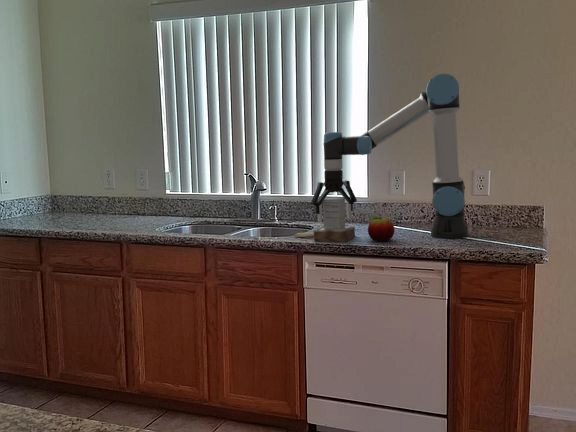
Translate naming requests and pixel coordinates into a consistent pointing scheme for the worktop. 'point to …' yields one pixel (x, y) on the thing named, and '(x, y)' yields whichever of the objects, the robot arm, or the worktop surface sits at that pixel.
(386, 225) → the fruit
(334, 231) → the stand
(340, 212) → the supplement box
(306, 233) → the cork coaster
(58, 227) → the worktop surface
